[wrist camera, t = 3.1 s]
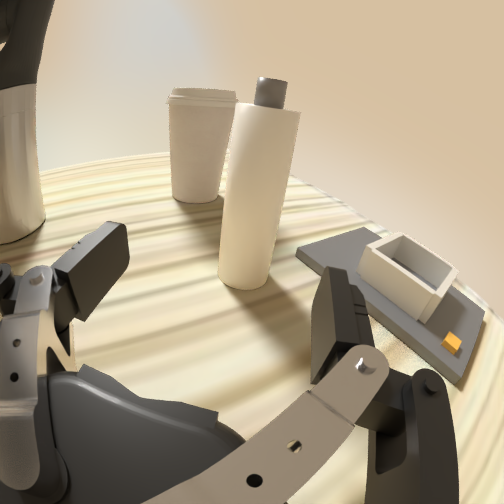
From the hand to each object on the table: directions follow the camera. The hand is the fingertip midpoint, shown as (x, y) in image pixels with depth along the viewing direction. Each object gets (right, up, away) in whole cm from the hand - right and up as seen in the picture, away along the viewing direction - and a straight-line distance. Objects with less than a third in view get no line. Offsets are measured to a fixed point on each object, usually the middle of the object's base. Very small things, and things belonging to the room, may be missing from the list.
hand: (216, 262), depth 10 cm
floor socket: (+17, -4, +15) cm, 23 cm away
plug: (+1, -1, +14) cm, 14 cm away
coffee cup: (-7, +8, +28) cm, 30 cm away
